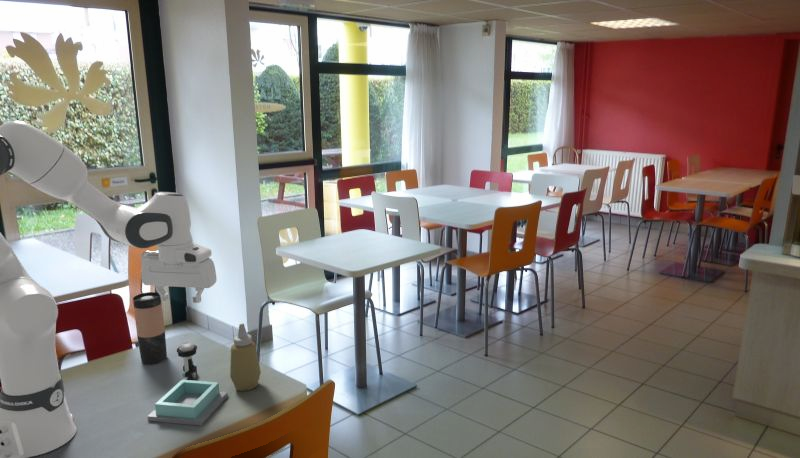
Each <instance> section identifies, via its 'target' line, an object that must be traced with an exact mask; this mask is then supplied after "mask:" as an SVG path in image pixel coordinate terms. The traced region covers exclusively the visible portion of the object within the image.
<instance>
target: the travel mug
mask: <svg viewBox="0 0 800 458" xmlns="http://www.w3.org/2000/svg"><path fill="white" fill-rule="evenodd" d="M132 303H133V311H134V319H135V329H136V336H137V342H138V350H139V354H140V355H139V356H140V361H141V363H142V364H145V365H156V364H160V363H162V362H164V361H165V360H166V359H167V358H168V357H167V356H168V355H167V354H168V352H167V341H166V327H165V321H164V312H163V304H162V303H163V302H162V301H161V297H160V295H159V293H158V292H157V291H156V292H155V291H154V292H153V291H152V292H150V291H149V292H142V293H138V294H136V295H135V296H133V297H132Z"/></svg>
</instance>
